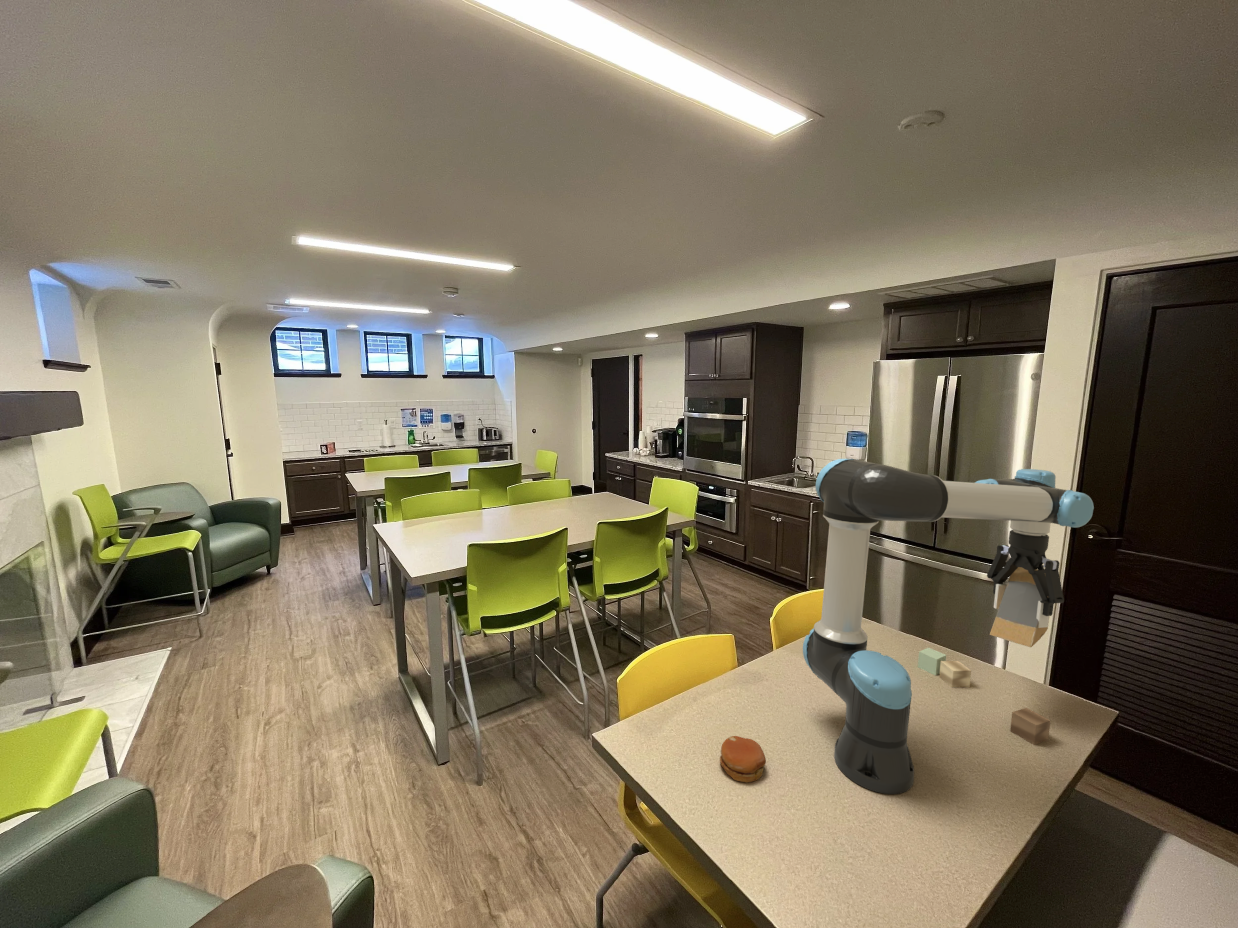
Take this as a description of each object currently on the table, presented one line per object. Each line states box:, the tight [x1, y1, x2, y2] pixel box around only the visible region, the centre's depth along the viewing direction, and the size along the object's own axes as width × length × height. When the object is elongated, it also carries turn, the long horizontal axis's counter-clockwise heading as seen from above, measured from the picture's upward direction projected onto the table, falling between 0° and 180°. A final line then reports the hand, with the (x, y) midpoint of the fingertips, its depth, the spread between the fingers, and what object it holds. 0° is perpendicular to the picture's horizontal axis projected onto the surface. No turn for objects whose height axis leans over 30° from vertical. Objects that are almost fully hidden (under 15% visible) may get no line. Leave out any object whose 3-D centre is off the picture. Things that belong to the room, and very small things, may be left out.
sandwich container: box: [989, 567, 1050, 648], centre depth 121 cm, size 9×15×15 cm, turn 127°
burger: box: [719, 735, 767, 783], centre depth 104 cm, size 10×9×5 cm
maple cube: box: [938, 660, 972, 689], centre depth 135 cm, size 5×5×5 cm
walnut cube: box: [1009, 707, 1051, 746], centre depth 114 cm, size 5×5×5 cm
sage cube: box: [917, 647, 947, 676], centre depth 142 cm, size 5×5×5 cm
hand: (1019, 616), depth 123 cm, fingers closed on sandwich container, 10 cm apart
